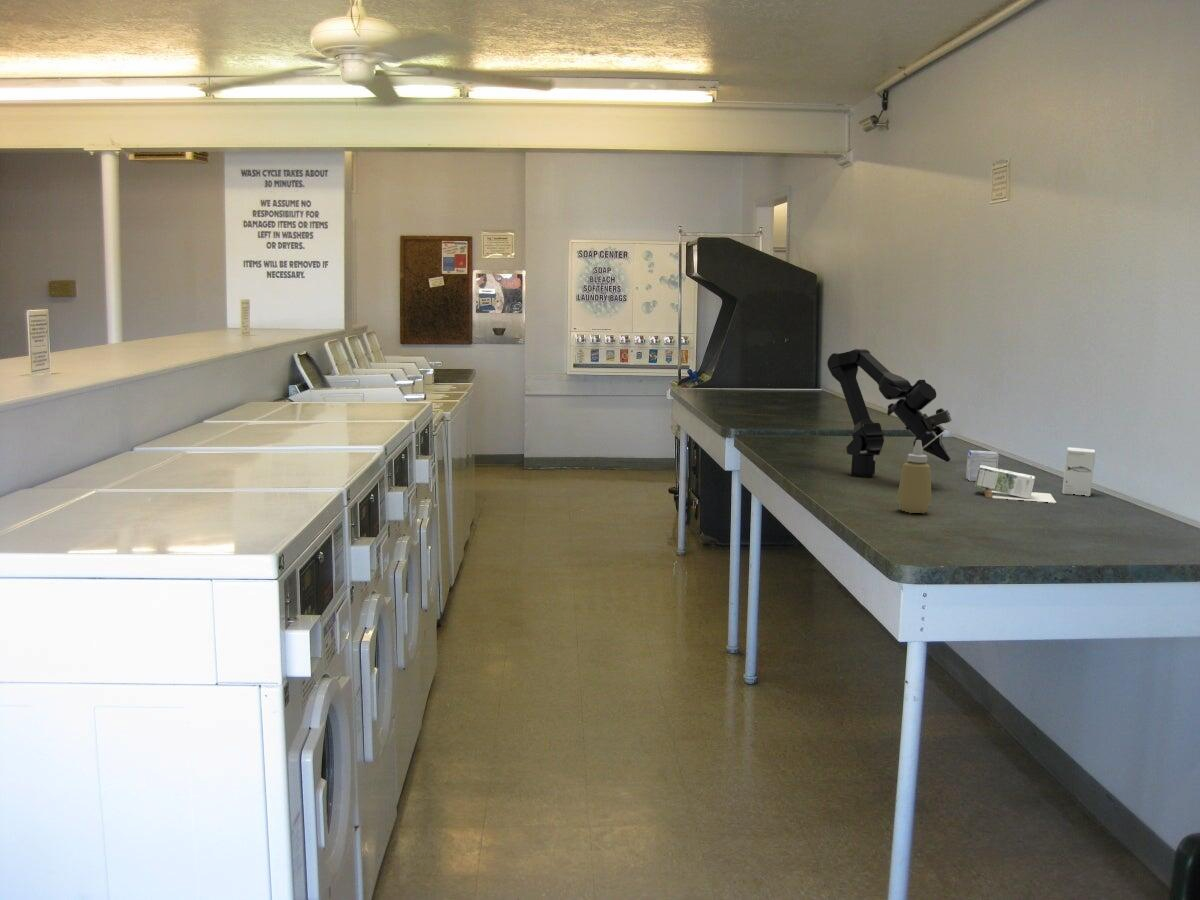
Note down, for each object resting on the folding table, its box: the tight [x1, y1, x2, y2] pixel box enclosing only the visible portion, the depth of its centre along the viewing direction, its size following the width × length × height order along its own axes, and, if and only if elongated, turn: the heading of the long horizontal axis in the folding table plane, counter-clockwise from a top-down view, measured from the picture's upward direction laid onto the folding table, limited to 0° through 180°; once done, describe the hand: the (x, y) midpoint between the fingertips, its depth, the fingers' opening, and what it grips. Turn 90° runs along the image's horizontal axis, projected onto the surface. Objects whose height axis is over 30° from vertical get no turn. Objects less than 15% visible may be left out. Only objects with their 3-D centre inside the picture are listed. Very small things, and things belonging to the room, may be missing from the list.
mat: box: [992, 491, 1057, 504], centre depth 297 cm, size 16×14×1 cm
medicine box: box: [965, 449, 1000, 482], centre depth 320 cm, size 8×4×9 cm, turn 84°
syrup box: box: [974, 465, 1036, 498], centre depth 296 cm, size 6×6×14 cm
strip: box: [982, 488, 993, 499], centre depth 299 cm, size 2×12×2 cm, turn 164°
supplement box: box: [1061, 446, 1096, 497], centre depth 304 cm, size 7×7×13 cm
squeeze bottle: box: [897, 440, 932, 514], centre depth 268 cm, size 8×8×18 cm
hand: (949, 460), depth 302 cm, fingers closed
